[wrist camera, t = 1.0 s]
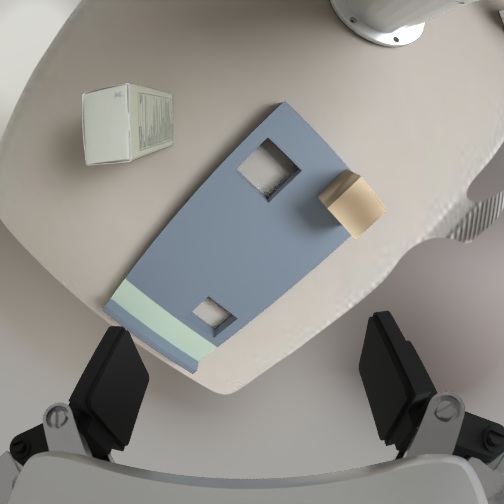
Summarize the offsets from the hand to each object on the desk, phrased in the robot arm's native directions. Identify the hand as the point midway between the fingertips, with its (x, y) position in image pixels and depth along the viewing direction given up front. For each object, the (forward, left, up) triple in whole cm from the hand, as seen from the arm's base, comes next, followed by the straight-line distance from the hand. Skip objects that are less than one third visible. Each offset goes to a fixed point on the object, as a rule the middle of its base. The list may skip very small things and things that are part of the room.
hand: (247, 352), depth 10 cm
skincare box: (+1, -14, -24) cm, 28 cm away
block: (-8, +7, -22) cm, 24 cm away
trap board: (+7, +3, -24) cm, 25 cm away
